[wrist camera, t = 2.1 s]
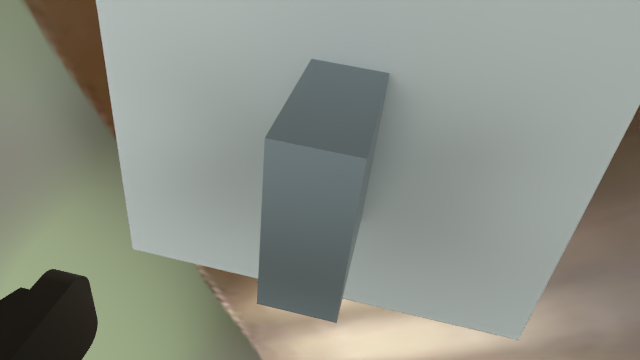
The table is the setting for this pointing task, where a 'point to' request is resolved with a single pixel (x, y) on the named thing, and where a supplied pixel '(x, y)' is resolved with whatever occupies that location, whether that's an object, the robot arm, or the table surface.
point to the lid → (370, 143)
